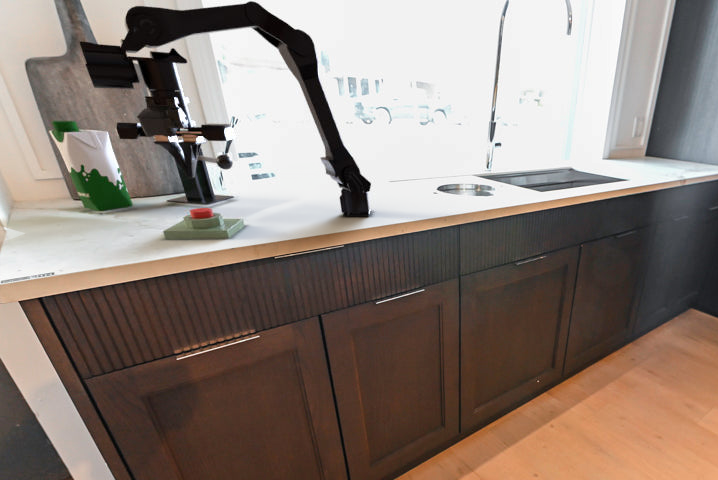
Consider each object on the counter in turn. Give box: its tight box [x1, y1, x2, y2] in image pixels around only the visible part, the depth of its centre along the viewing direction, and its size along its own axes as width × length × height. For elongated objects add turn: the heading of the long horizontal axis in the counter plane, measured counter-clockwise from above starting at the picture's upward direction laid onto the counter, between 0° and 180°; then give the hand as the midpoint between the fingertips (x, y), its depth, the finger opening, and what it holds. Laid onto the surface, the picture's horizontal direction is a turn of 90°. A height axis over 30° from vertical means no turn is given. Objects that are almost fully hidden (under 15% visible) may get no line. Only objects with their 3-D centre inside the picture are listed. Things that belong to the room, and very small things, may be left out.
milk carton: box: [48, 120, 134, 215], centre depth 102 cm, size 9×9×20 cm
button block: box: [162, 212, 246, 240], centre depth 92 cm, size 12×10×4 cm
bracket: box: [166, 147, 235, 206], centre depth 114 cm, size 12×10×14 cm
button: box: [189, 207, 214, 219], centre depth 91 cm, size 4×4×2 cm
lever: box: [197, 154, 234, 171], centre depth 111 cm, size 13×4×4 cm, turn 82°
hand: (191, 177), depth 88 cm, fingers closed
